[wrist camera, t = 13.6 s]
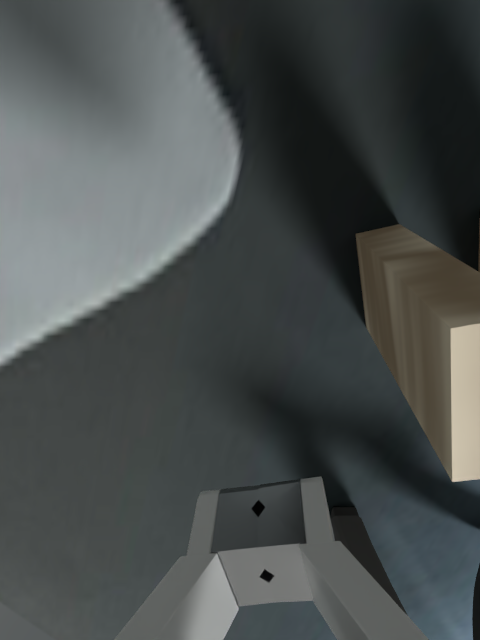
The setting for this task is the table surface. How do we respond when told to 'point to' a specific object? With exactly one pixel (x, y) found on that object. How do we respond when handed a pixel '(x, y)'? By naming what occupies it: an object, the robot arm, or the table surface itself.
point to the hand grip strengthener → (360, 546)
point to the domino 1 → (427, 337)
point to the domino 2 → (479, 248)
